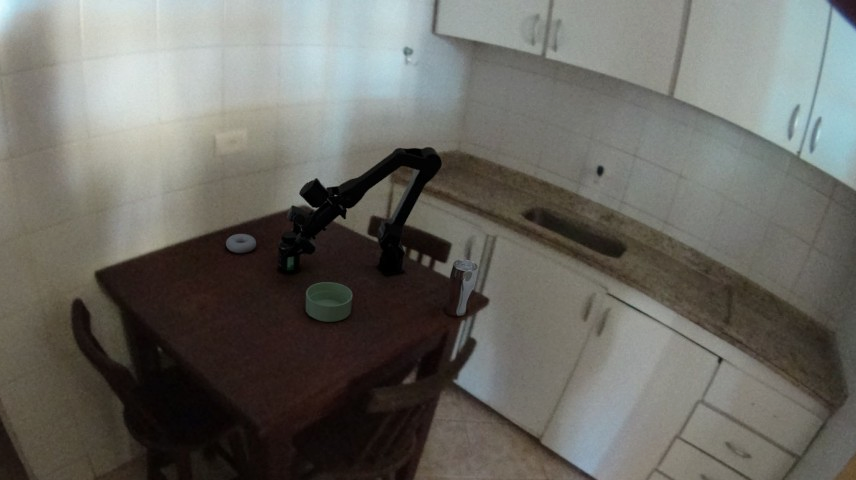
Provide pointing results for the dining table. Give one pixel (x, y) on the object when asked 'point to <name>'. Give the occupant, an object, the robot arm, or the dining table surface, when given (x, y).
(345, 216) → the robot arm
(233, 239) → the donut
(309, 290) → the green round bowl
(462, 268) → the beer glass
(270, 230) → the dining table surface
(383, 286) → the dining table surface
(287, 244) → the supplement bottle
